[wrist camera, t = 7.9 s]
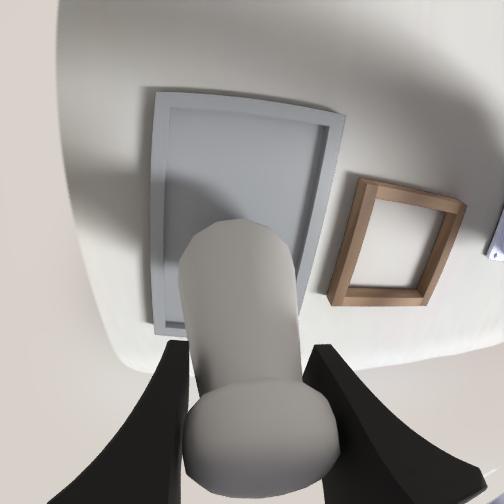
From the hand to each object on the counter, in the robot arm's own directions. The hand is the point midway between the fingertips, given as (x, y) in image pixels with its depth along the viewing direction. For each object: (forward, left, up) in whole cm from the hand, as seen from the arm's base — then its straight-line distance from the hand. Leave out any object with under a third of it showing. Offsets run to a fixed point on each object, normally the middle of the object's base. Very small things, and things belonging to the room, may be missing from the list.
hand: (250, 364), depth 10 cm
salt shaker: (0, +1, -9) cm, 9 cm away
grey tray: (0, 0, -10) cm, 10 cm away
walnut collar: (-11, 0, -10) cm, 15 cm away
